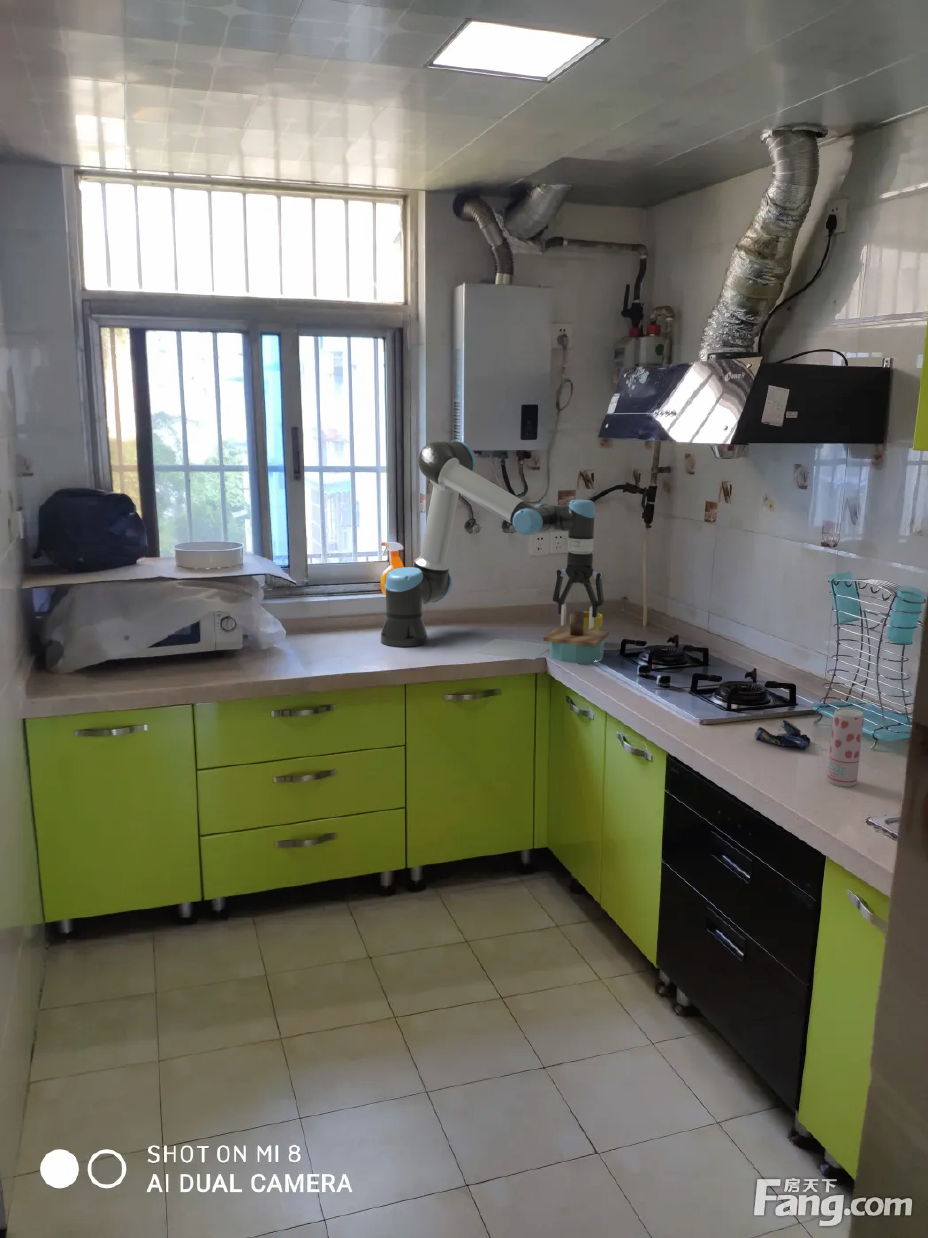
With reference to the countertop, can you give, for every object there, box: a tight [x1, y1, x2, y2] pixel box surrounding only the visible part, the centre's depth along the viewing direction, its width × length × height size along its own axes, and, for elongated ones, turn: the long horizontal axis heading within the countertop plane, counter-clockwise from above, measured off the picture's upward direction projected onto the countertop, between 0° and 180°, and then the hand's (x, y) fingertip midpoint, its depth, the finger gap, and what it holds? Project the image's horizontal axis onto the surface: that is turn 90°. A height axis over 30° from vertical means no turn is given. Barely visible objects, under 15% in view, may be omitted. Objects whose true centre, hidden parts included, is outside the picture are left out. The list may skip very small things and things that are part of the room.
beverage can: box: [826, 707, 864, 788], centre depth 189 cm, size 6×6×15 cm
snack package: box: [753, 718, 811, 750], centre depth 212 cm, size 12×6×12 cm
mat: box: [472, 638, 549, 660], centre depth 293 cm, size 20×20×1 cm
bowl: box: [548, 639, 605, 665], centre depth 285 cm, size 16×16×6 cm
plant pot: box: [569, 610, 604, 631], centre depth 302 cm, size 10×10×10 cm
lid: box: [542, 610, 610, 647], centre depth 284 cm, size 16×16×8 cm
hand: (577, 626), depth 284 cm, fingers open, 8 cm apart
